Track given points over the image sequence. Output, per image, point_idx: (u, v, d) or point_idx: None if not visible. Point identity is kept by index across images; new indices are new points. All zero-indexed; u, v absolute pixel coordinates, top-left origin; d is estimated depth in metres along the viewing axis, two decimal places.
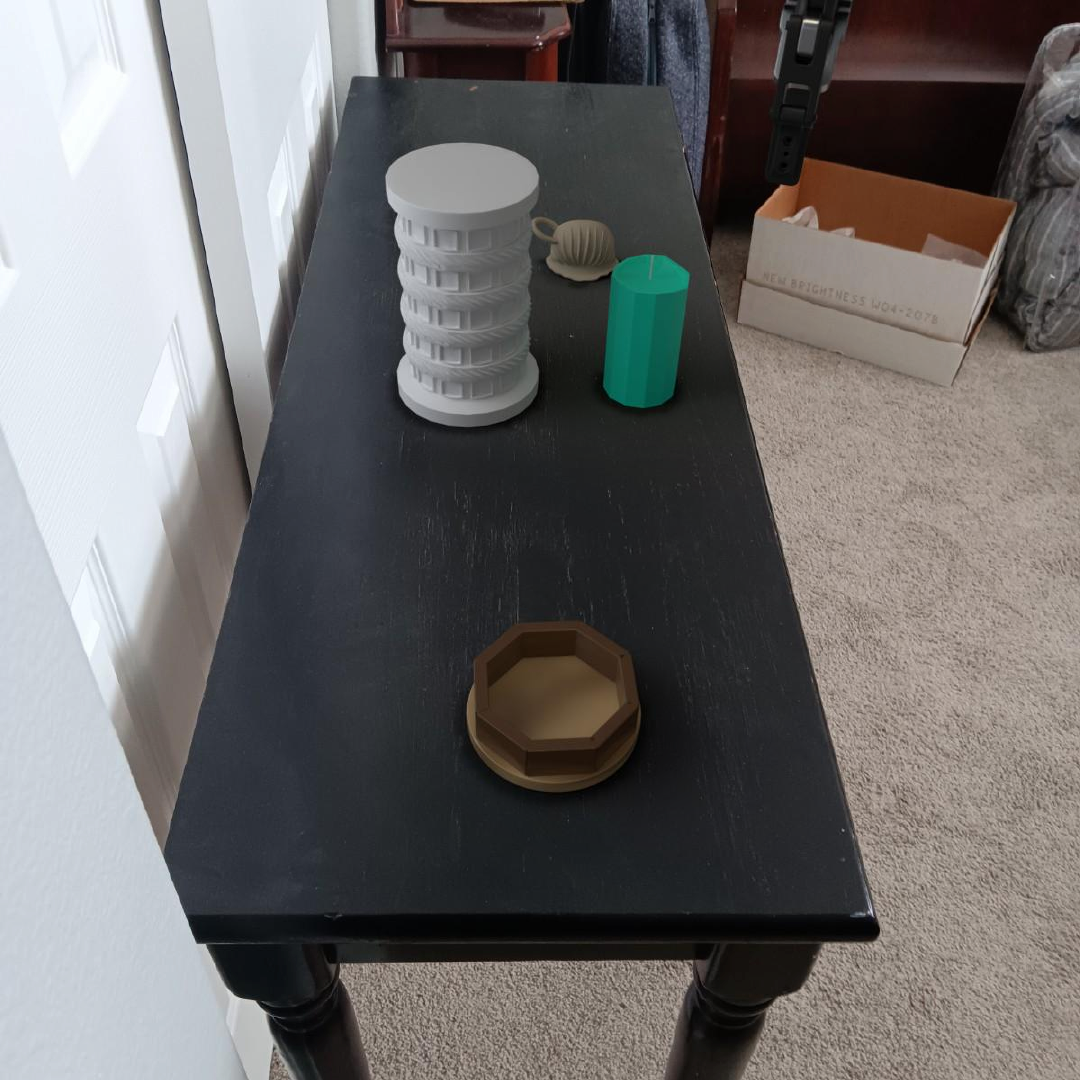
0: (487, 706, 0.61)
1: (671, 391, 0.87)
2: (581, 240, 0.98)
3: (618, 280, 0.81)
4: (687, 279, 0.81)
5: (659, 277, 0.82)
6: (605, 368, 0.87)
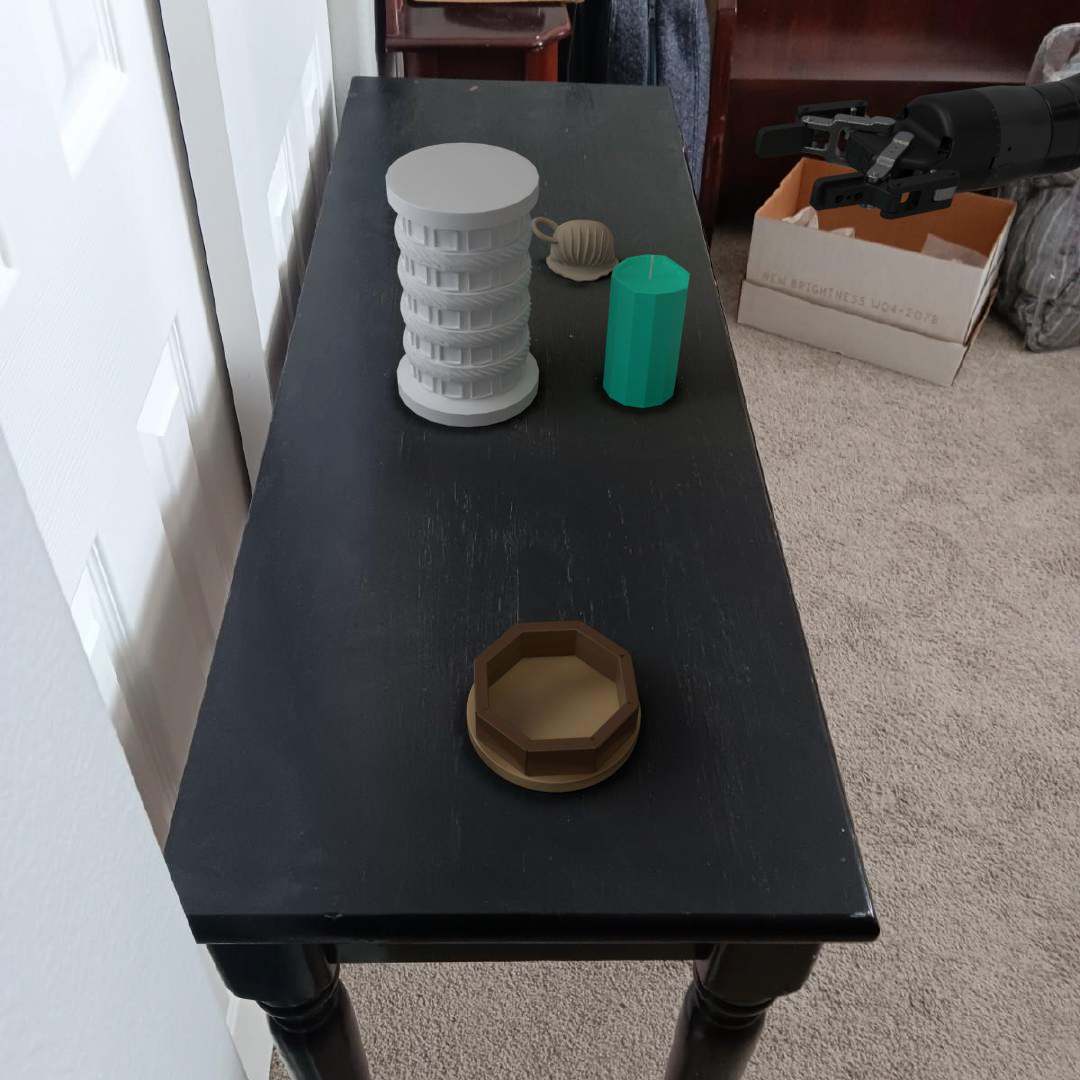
0: (487, 706, 0.61)
1: (671, 391, 0.87)
2: (581, 240, 0.98)
3: (618, 280, 0.81)
4: (687, 279, 0.81)
5: (659, 277, 0.82)
6: (605, 368, 0.87)
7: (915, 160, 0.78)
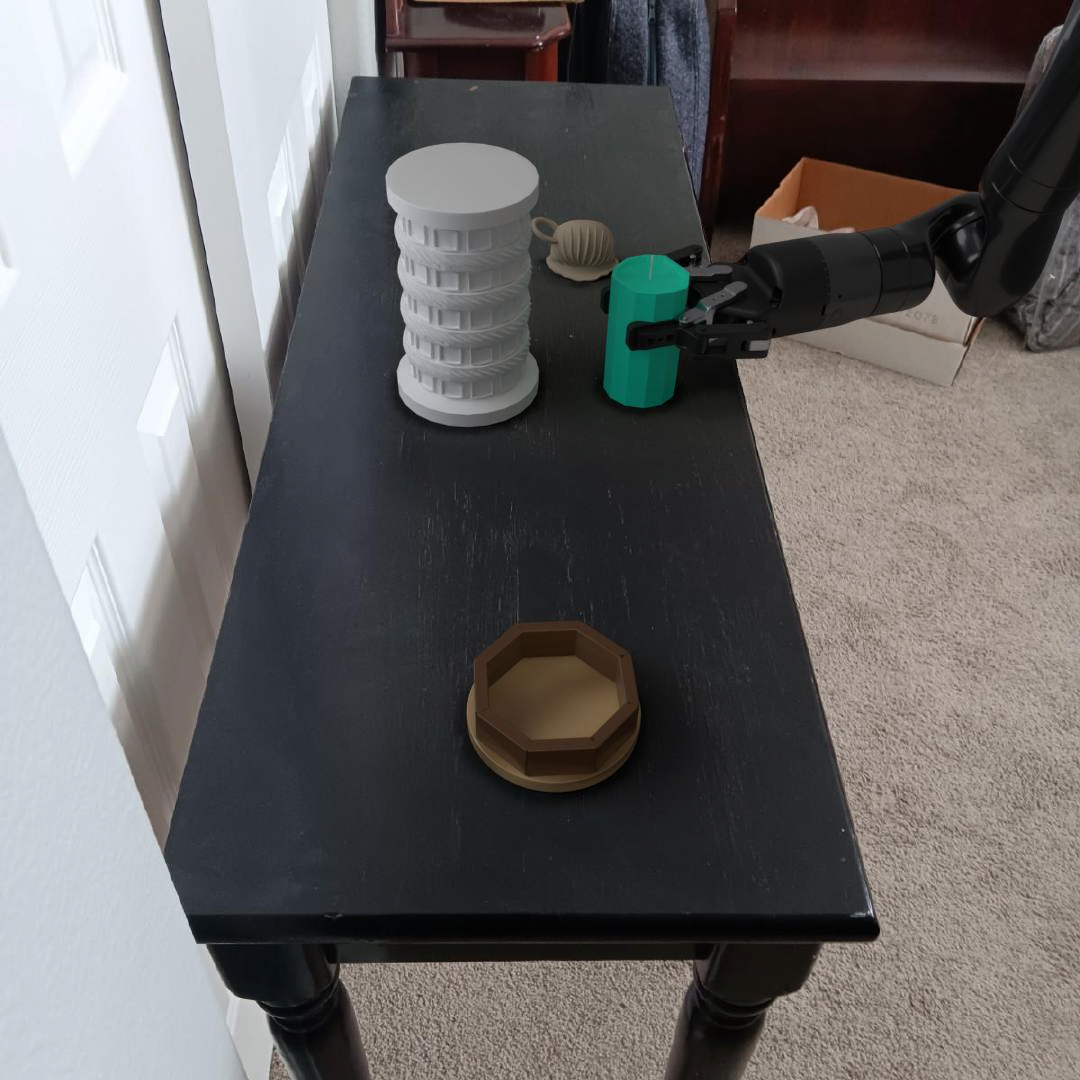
0: (487, 706, 0.61)
1: (671, 391, 0.87)
2: (581, 240, 0.98)
3: (618, 280, 0.81)
4: (687, 279, 0.81)
5: (659, 277, 0.82)
6: (605, 368, 0.87)
7: (746, 311, 0.83)
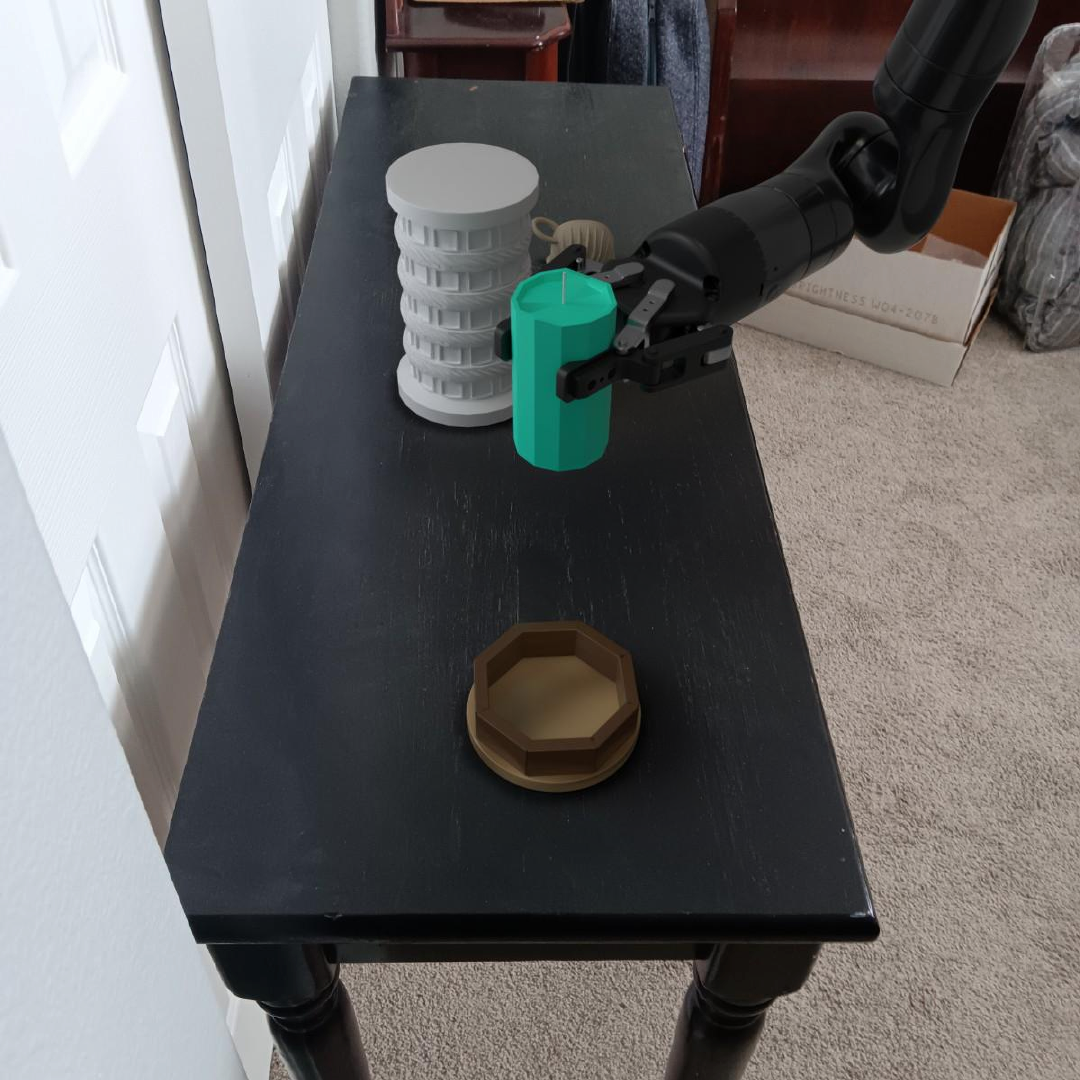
0: (487, 706, 0.61)
1: (607, 437, 0.67)
2: (581, 240, 0.98)
3: (530, 316, 0.59)
4: (611, 292, 0.61)
5: (573, 298, 0.61)
6: (520, 431, 0.65)
7: (686, 314, 0.64)
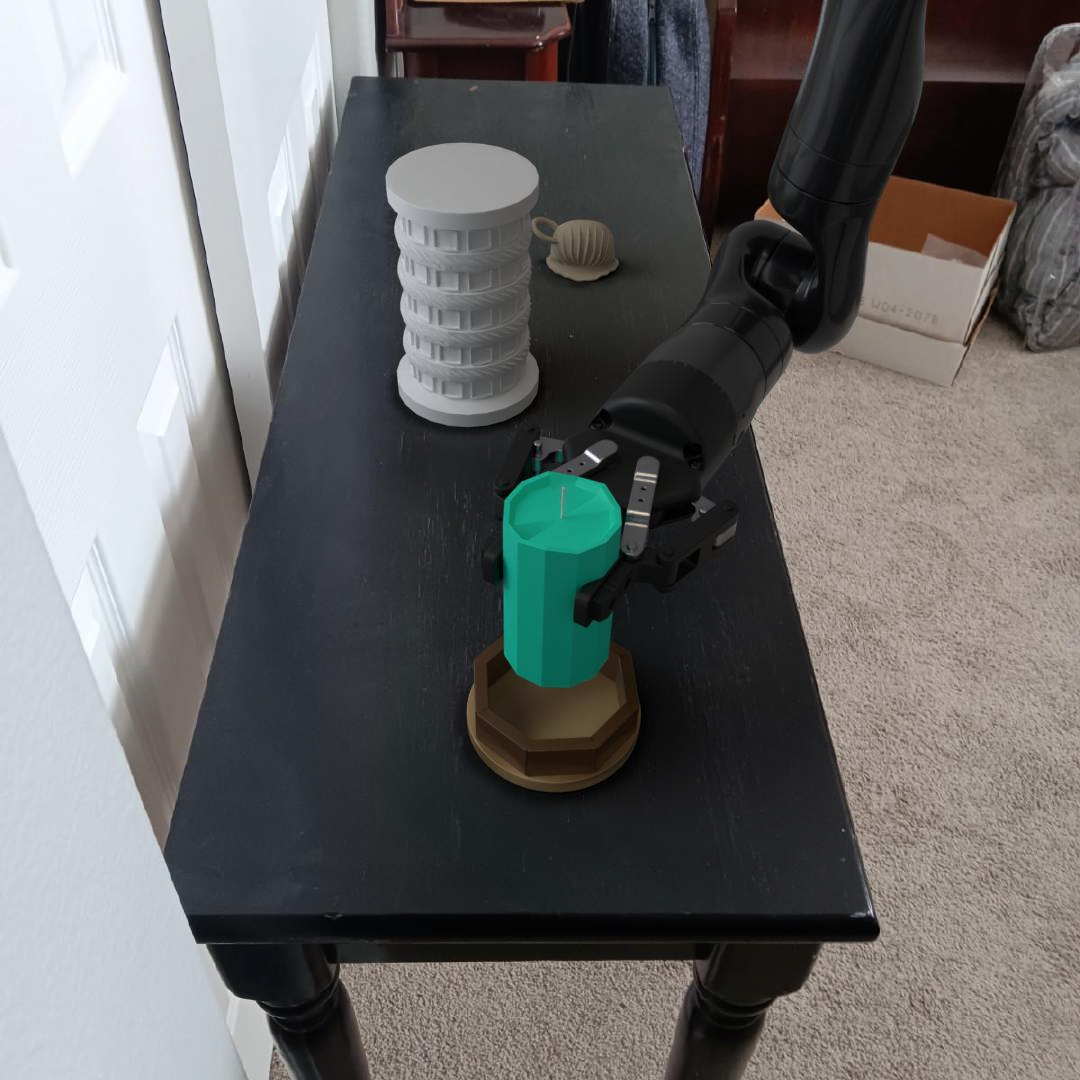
0: (487, 706, 0.61)
1: None
2: (581, 240, 0.98)
3: (538, 546, 0.51)
4: (609, 494, 0.54)
5: (570, 508, 0.54)
6: (520, 653, 0.57)
7: (680, 493, 0.58)
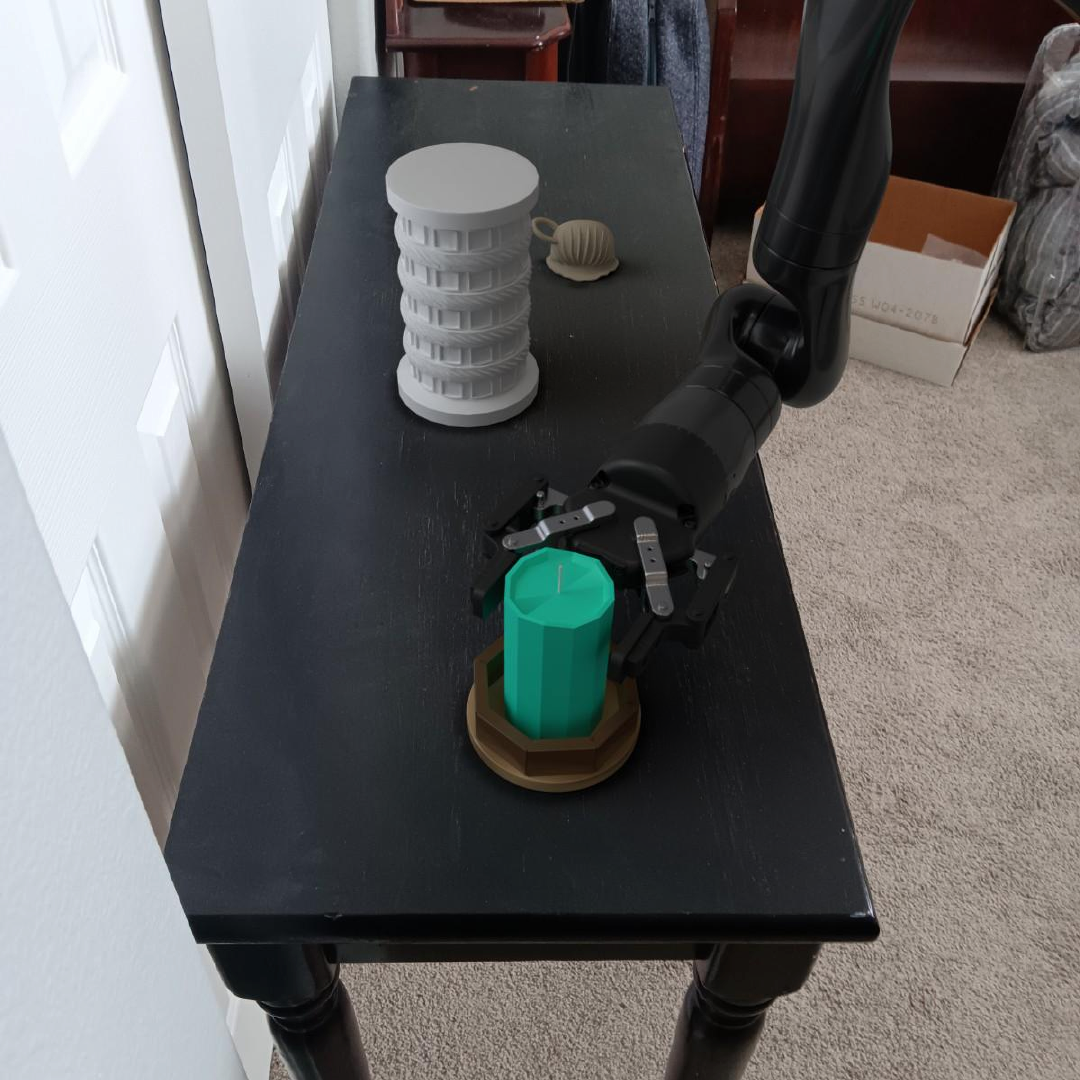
0: (487, 706, 0.61)
1: None
2: (581, 240, 0.98)
3: (537, 621, 0.55)
4: (603, 569, 0.58)
5: (566, 583, 0.58)
6: (520, 715, 0.61)
7: (674, 552, 0.61)
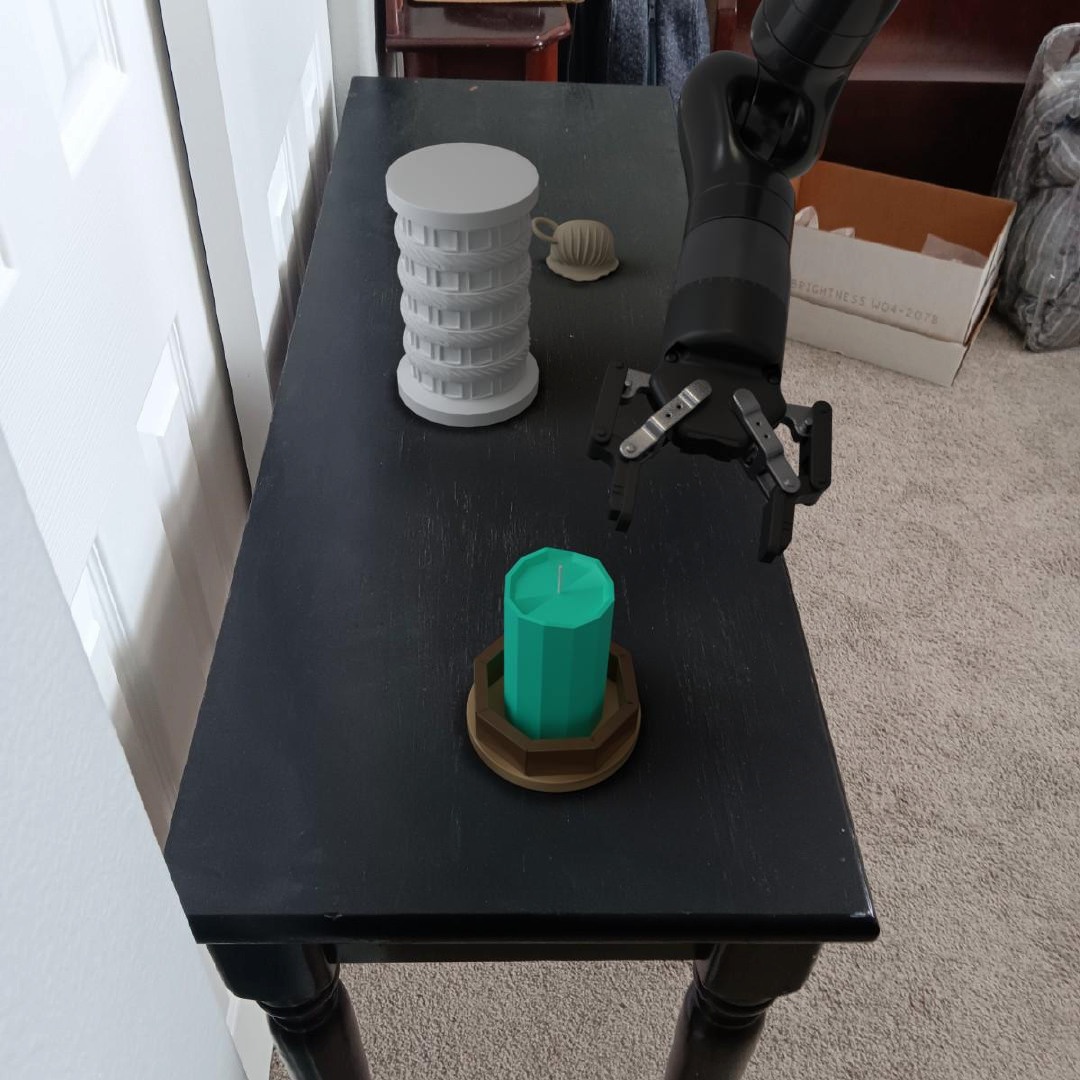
0: (487, 706, 0.61)
1: None
2: (581, 240, 0.98)
3: (537, 621, 0.55)
4: (603, 569, 0.58)
5: (566, 583, 0.58)
6: (520, 715, 0.61)
7: (774, 417, 0.64)
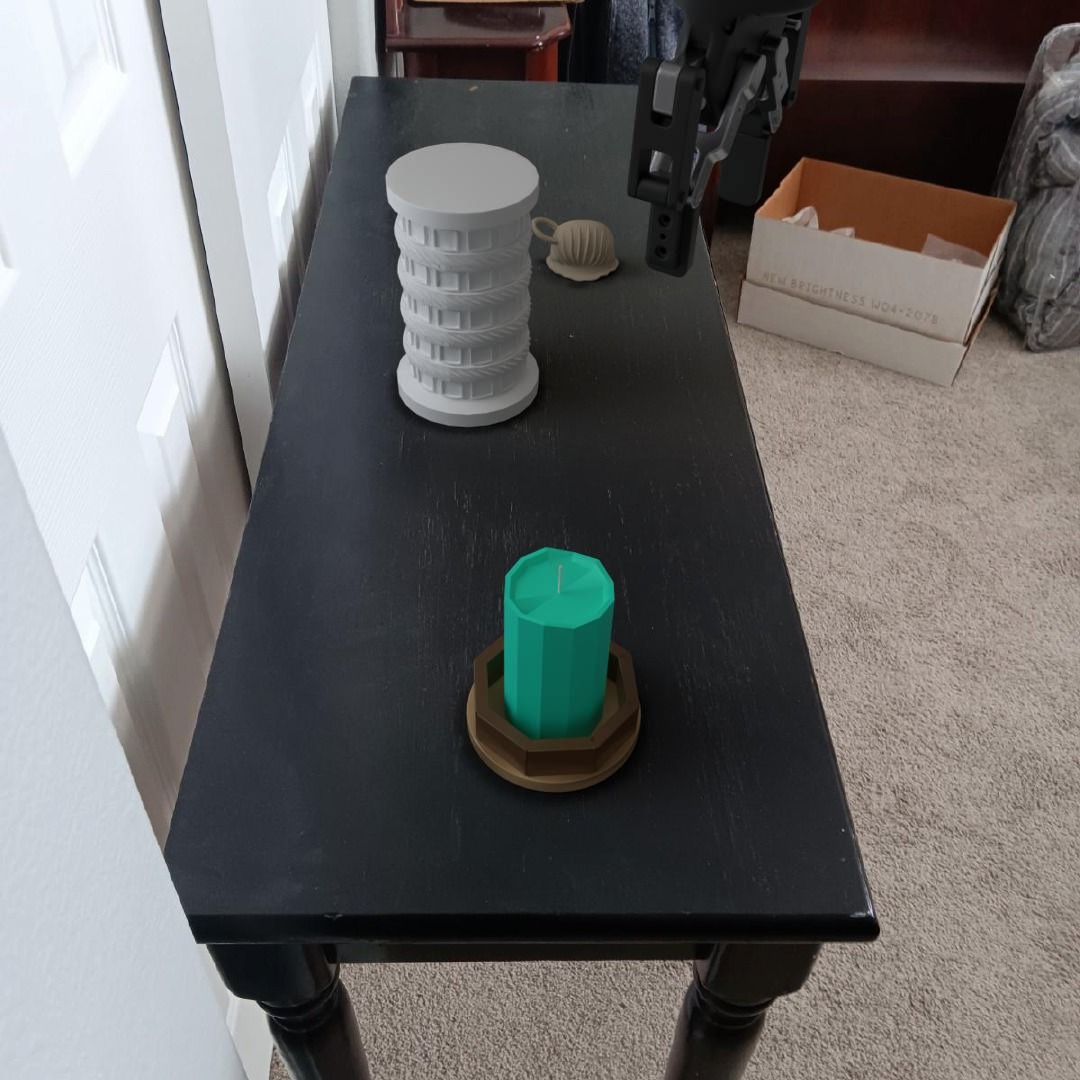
0: (487, 706, 0.61)
1: None
2: (581, 240, 0.98)
3: (537, 621, 0.55)
4: (603, 569, 0.58)
5: (566, 583, 0.58)
6: (520, 715, 0.61)
7: None
